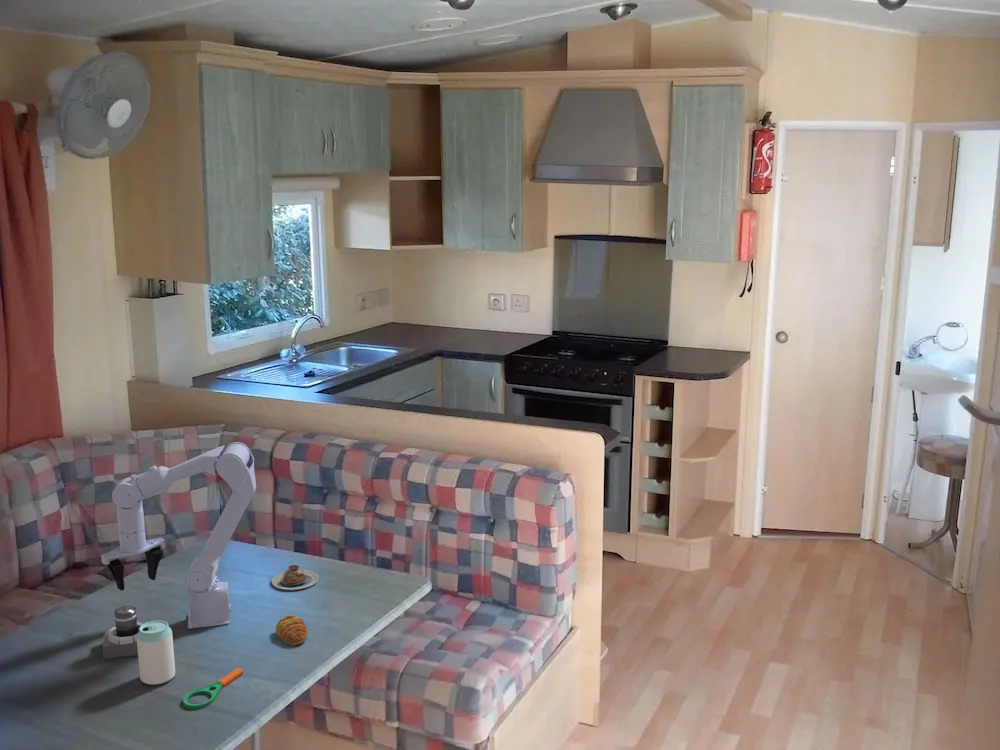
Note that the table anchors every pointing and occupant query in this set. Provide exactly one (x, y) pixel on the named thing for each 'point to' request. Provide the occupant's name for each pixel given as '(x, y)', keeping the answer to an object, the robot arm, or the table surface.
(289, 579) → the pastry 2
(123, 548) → the robot arm
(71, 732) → the table surface
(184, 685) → the table surface
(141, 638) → the can
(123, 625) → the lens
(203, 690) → the magnifying glass
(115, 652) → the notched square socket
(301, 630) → the pastry
